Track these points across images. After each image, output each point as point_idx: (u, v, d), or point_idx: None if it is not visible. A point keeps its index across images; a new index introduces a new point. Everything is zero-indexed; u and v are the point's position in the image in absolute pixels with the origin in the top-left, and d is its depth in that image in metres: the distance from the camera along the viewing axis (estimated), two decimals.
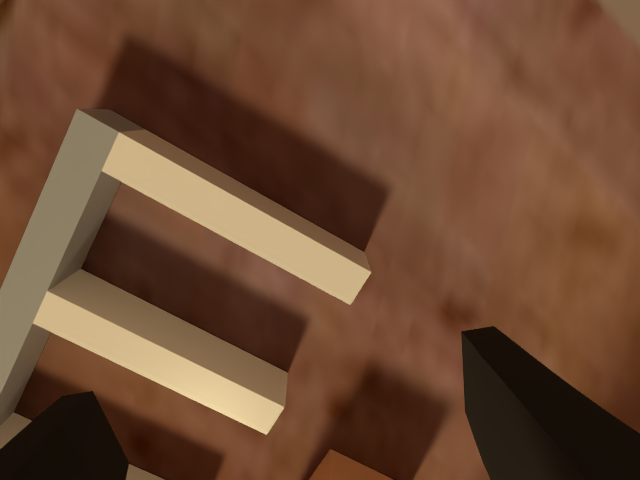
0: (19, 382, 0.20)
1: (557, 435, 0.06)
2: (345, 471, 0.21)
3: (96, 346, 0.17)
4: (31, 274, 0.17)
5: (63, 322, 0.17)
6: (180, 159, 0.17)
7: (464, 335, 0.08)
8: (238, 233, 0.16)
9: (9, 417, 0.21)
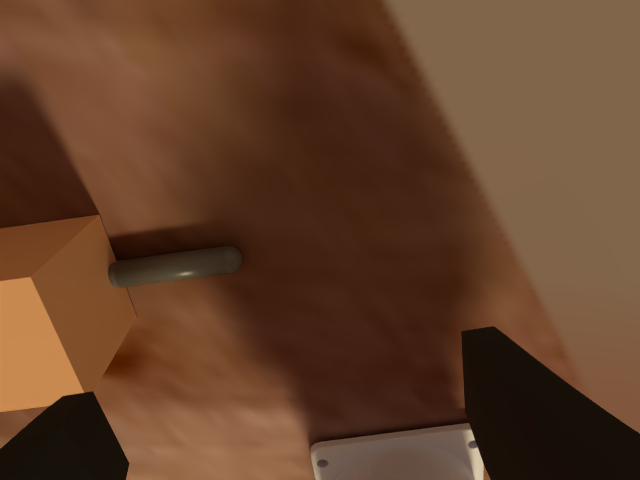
0: None
1: (557, 435, 0.06)
2: None
3: None
4: None
5: None
6: None
7: (464, 334, 0.08)
8: None
9: None
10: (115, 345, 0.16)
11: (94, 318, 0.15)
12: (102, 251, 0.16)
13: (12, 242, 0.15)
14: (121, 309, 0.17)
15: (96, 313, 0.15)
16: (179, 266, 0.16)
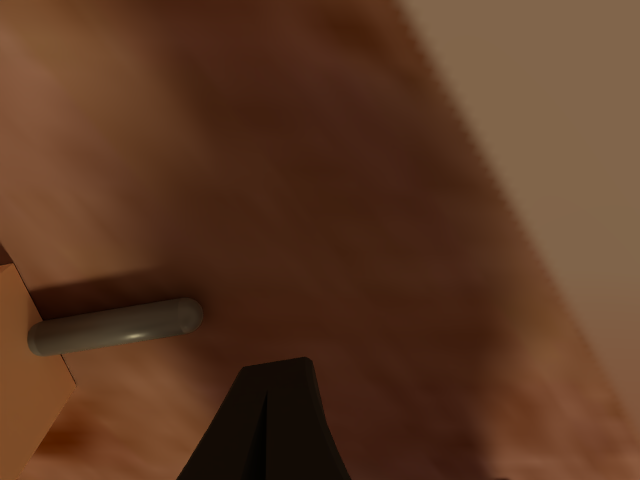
0: None
1: (273, 478, 0.06)
2: None
3: None
4: None
5: None
6: None
7: (273, 365, 0.08)
8: None
9: None
10: (38, 434, 0.12)
11: (0, 407, 0.11)
12: (18, 311, 0.12)
13: None
14: (49, 383, 0.13)
15: (4, 399, 0.11)
16: (119, 328, 0.12)
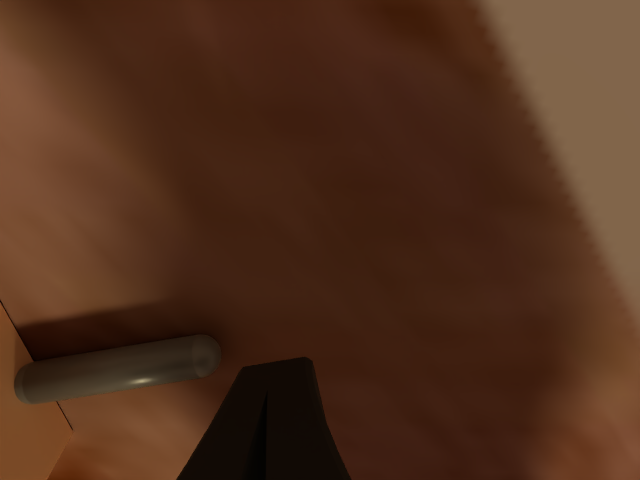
0: None
1: (273, 478, 0.06)
2: None
3: None
4: None
5: None
6: None
7: (273, 366, 0.08)
8: None
9: None
10: None
11: None
12: (2, 354, 0.10)
13: None
14: (41, 435, 0.11)
15: None
16: (122, 373, 0.10)
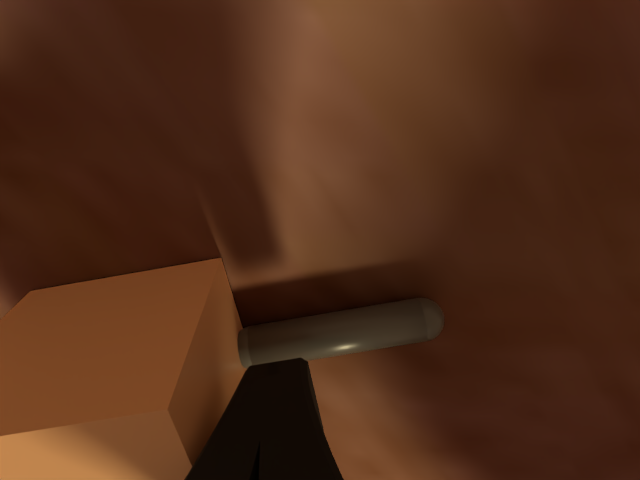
0: None
1: (266, 479, 0.06)
2: (37, 311, 0.09)
3: None
4: None
5: None
6: None
7: (269, 366, 0.08)
8: None
9: None
10: None
11: None
12: (230, 316, 0.10)
13: (97, 316, 0.09)
14: None
15: None
16: (352, 335, 0.10)
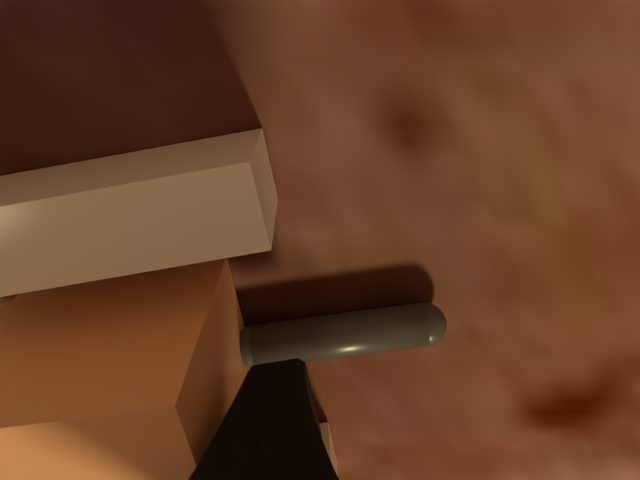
0: None
1: None
2: (39, 302, 0.09)
3: None
4: None
5: None
6: None
7: (266, 367, 0.08)
8: None
9: None
10: None
11: None
12: (233, 314, 0.10)
13: (101, 309, 0.09)
14: None
15: None
16: (354, 337, 0.10)
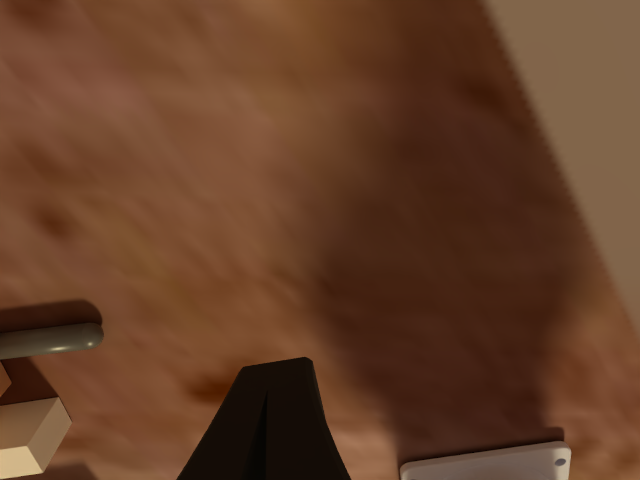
0: None
1: (273, 478, 0.06)
2: None
3: None
4: None
5: None
6: None
7: (273, 365, 0.08)
8: None
9: None
10: None
11: None
12: None
13: None
14: None
15: None
16: (39, 343, 0.17)
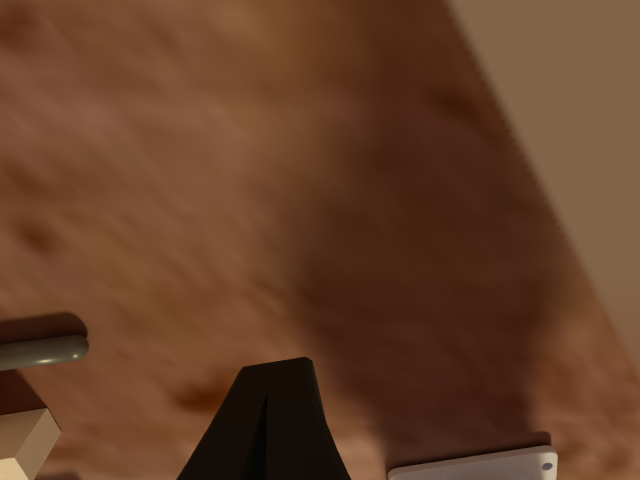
0: None
1: (273, 478, 0.06)
2: None
3: None
4: None
5: None
6: None
7: (273, 366, 0.08)
8: None
9: None
10: None
11: None
12: None
13: None
14: None
15: None
16: (25, 356, 0.17)
